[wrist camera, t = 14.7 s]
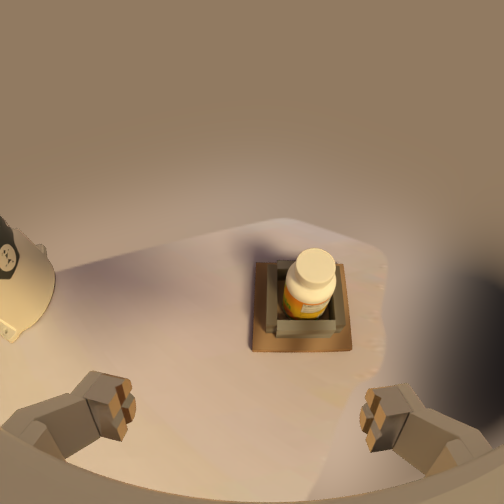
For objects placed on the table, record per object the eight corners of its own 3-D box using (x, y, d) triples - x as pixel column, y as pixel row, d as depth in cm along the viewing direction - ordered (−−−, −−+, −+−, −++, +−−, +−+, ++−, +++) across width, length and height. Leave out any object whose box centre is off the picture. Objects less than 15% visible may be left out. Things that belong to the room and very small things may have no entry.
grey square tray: (252, 351, 34) (251, 342, 30) (256, 266, 40) (255, 249, 37) (349, 350, 33) (359, 341, 30) (341, 267, 40) (348, 251, 36)
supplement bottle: (279, 288, 37) (284, 243, 29) (320, 284, 37) (335, 239, 29) (284, 327, 34) (292, 292, 26) (327, 322, 34) (348, 286, 26)
